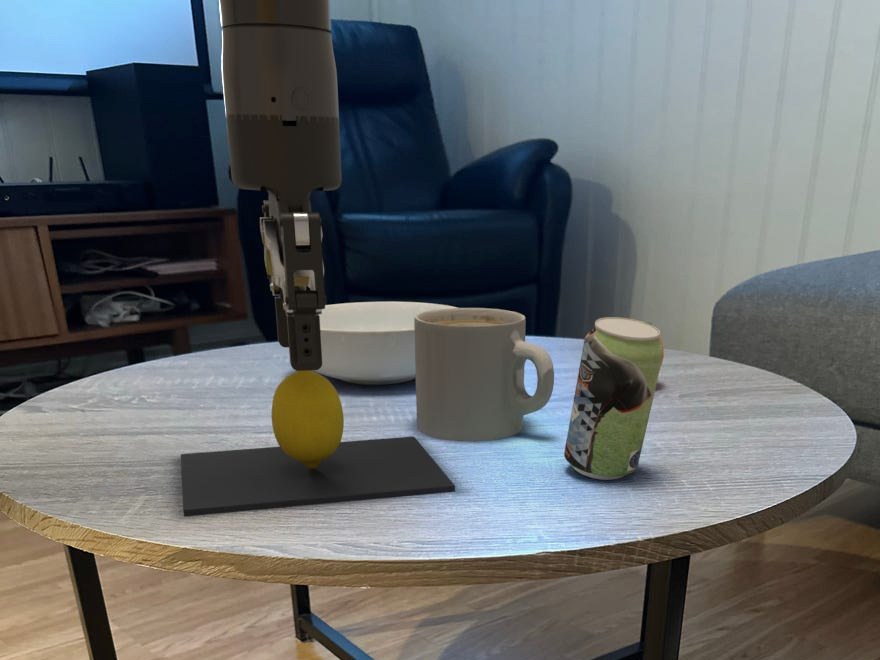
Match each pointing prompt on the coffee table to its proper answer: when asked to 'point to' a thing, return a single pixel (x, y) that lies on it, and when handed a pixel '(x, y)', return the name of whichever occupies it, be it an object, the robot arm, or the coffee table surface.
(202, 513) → the mat
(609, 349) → the beverage can
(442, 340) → the coffee mug
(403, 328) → the serving bowl
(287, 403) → the lemon
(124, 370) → the coffee table surface
